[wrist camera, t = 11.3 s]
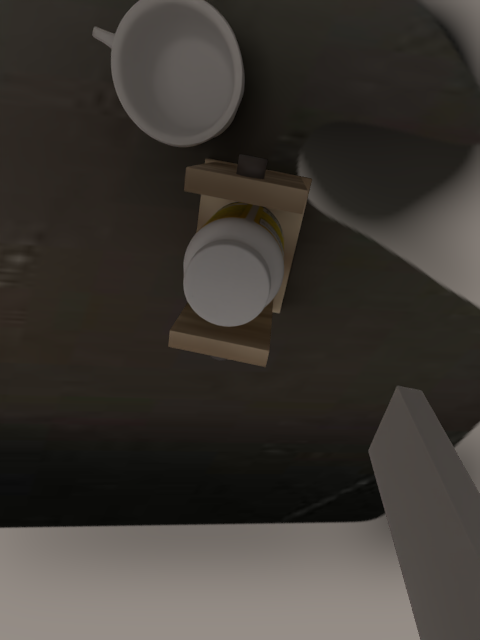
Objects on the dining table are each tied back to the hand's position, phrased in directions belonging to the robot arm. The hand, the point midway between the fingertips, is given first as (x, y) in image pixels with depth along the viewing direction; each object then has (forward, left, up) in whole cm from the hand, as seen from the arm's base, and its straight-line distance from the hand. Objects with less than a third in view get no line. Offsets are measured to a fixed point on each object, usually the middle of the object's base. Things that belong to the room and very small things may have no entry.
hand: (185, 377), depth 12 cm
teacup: (-10, -6, -21) cm, 24 cm away
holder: (0, 0, -20) cm, 20 cm away
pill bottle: (0, 0, -20) cm, 20 cm away
